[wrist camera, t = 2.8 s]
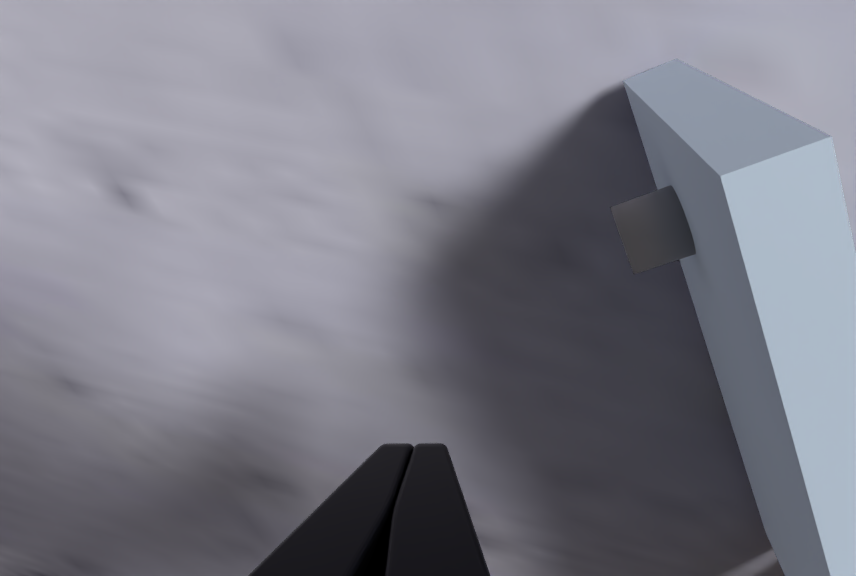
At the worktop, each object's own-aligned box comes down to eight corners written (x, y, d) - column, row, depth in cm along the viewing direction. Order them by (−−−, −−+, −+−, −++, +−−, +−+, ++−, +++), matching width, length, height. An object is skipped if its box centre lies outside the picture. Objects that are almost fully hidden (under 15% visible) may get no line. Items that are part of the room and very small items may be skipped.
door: (571, 102, 12) (623, 225, 6) (676, 58, 12) (852, 145, 6) (733, 564, 17) (858, 908, 11) (814, 548, 16) (997, 902, 10)
